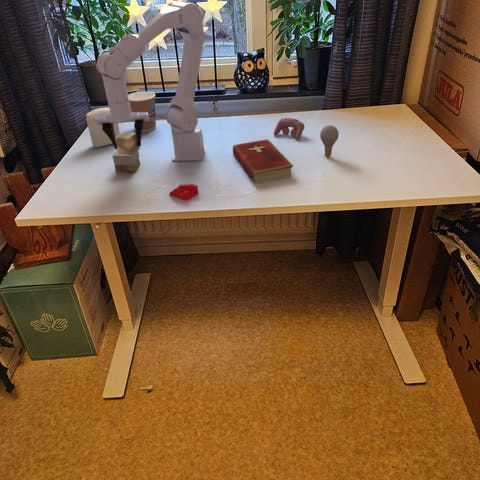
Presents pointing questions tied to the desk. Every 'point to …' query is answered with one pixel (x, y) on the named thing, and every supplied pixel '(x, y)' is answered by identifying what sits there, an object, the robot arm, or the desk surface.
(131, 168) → the walnut base block
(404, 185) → the desk surface
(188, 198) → the bracket
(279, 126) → the brown arched piece
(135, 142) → the birch block
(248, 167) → the hardcover book
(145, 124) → the coffee cup
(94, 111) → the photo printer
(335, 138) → the light bulb
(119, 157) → the slate-grey top block
